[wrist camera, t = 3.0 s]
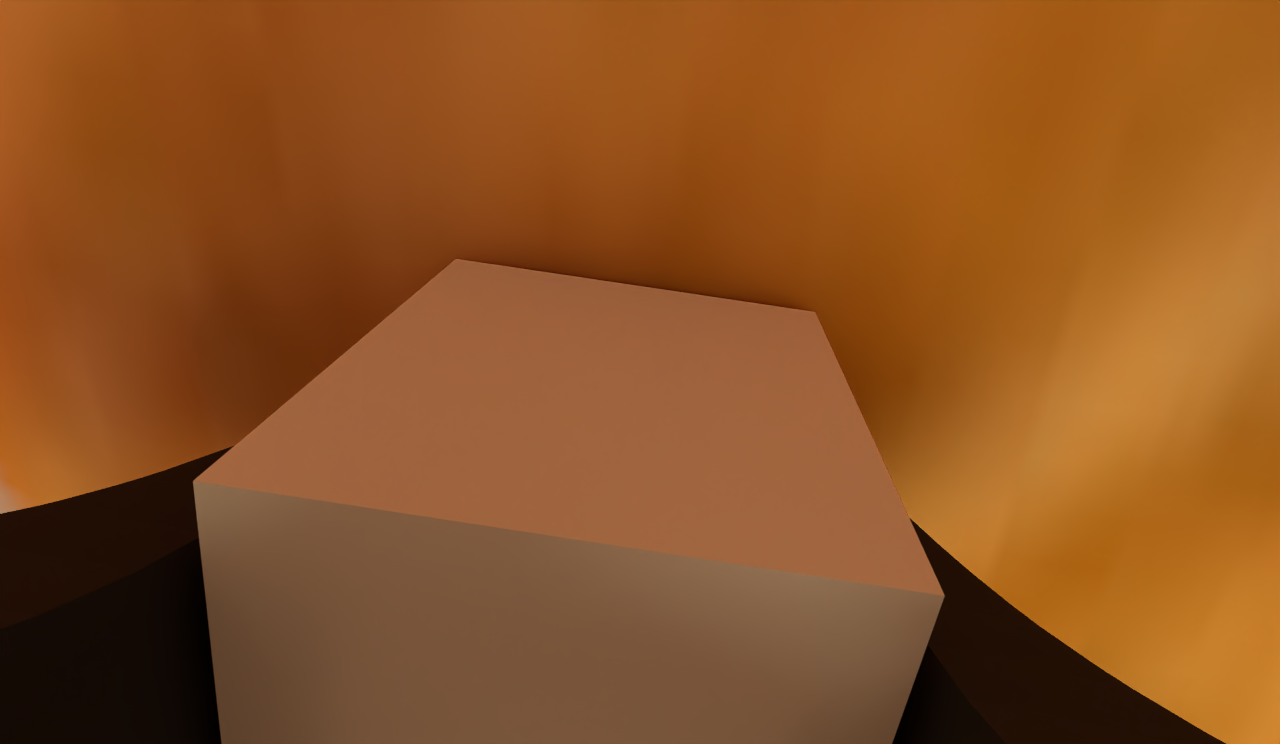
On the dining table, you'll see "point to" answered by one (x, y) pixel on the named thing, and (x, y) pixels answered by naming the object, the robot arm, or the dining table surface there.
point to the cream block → (565, 531)
